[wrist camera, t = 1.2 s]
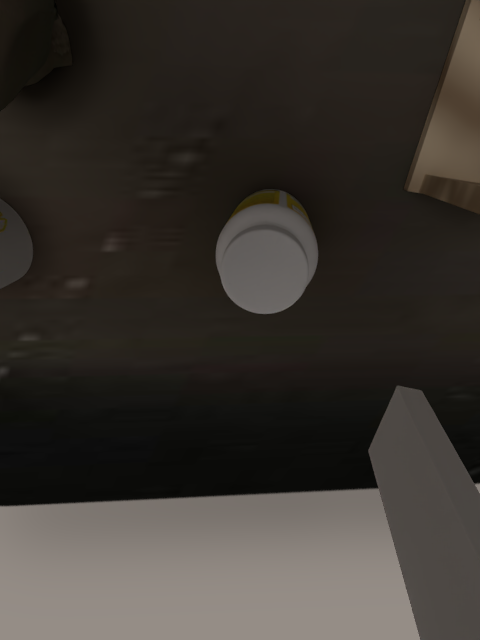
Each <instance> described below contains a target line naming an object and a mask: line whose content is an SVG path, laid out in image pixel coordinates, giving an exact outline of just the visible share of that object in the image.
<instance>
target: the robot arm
mask: <svg viewBox="0 0 480 640" xmlns="http://www.w3.org/2000/svg"><path fill="white" fill-rule="evenodd" d="M368 451H369V455H370V459H371V462H372V466H373V470H374V473H375V477H376V480H377V484H378V488H379V491H380V495H381V498H382V502H383V506H384V509H385V513H386V517H387V520H388V524H389V527H390V531H391V534H392V538H393V542H394V545H395V549H396V553H397V556H398V560H399V564H400V567H401V571H402V575H403V578H404V582H405V585H406V589H407V593H408V596H409V600H410V604H411V607H412V611H413V614H414V618H415V622H416V625H417V629H418V632H419V636H420V640H480V493H479V492H478V490H477V488H476V486H475V484H474V483H473V481H472V479H471V477H470V476H469V474H468V472H467V470H466V468H465V467H464V465H463V463H462V461H461V460H460V458H459V456H458V454H457V453H456V451H455V449H454V447H453V445H452V444H451V442H450V440H449V438H448V437H447V435H446V433H445V431H444V429H443V428H442V426H441V424H440V422H439V421H438V419H437V417H436V415H435V413H434V412H433V410H432V408H431V406H430V405H429V403H428V401H427V399H426V397H425V396H424V394H423V392H422V391H421V390H416V389H411V388H406V387H401V386H397V387H396V389H395V392H394V394H393V396H392V398H391V401H390V403H389V405H388V407H387V410H386V412H385V414H384V416H383V419H382V421H381V423H380V425H379V428H378V430H377V432H376V434H375V437H374V439H373V441H372V443H371V446H370V448H369V450H368Z"/></svg>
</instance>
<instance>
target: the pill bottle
mask: <svg viewBox="0 0 480 640" xmlns="http://www.w3.org/2000/svg"><path fill="white" fill-rule="evenodd" d="M317 262H318V246H317V241H316V237H315V234H314V232H313V229H312V226H311V223H310V221H309V218H308V215H307V213H306V211H305V209H304V207H303V206H302V205H301V203H300V202H299V201H298V200H297V199H296V198H295V197H293V196H292V195H290V194H288V193H286V192H284V191H281V190H276V189H265V190H260V191H257V192H255V193H252V194H251V195H249V196H248V197H246V198H245V199H244V200H243V201H242V202H241V203H240V204H239V205H238V206H237V208H236V209H235V211H234V212H233V214H232V215H231V217H230V218H229V220H228V221H227V223H226V224H225V226H224V228H223V229H222V231H221V233H220V235H219V239H218V242H217V246H216V264H217V269H218V272H219V274H220V276H221V281H222V285H223V287H224V290H225V291H226V293H227V295H228V296H229V297H230V298H231V300H232V301H233V302H235V303H236V304H237V305H238V306H240V307H241V308H243V309H245V310H247V311H250V312H254V313H259V314H271V313H276V312H280V311H282V310H285V309H286V308H288V307H290V306H291V305H293V304H294V303H295V302H296V301H297V300H298V299H299V298H300V296H301V295H302V294H303V292H304V290H305V288H306V286H307V285H308V284H309V282H310V281H311V279H312V277H313V275H314V273H315V270H316V267H317Z"/></svg>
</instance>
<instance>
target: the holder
mask: <svg viewBox="0 0 480 640" xmlns="http://www.w3.org/2000/svg"><path fill="white" fill-rule="evenodd" d="M403 190H406V191H410V192H416V193H422V194H425V195H428V196H431V197H433V198H436V199H439V200H442V201H444V202H447V203H450V204H453V205H455V206H458V207H461V208H464V209H466V210H469V211H472V212H475V213H477V214H480V0H466V1H465V4H464V7H463V10H462V13H461V16H460V19H459V22H458V25H457V28H456V31H455V34H454V37H453V40H452V43H451V46H450V49H449V52H448V55H447V58H446V61H445V64H444V67H443V71H442V74H441V77H440V80H439V83H438V86H437V89H436V92H435V95H434V98H433V101H432V104H431V107H430V110H429V113H428V116H427V119H426V122H425V125H424V128H423V131H422V134H421V137H420V140H419V143H418V146H417V149H416V152H415V155H414V158H413V161H412V164H411V167H410V170H409V173H408V176H407V179H406V182H405V185H404V188H403Z"/></svg>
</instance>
